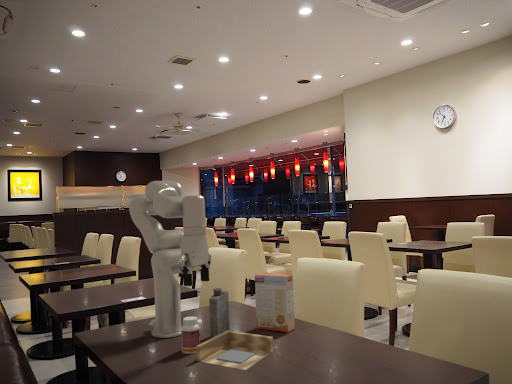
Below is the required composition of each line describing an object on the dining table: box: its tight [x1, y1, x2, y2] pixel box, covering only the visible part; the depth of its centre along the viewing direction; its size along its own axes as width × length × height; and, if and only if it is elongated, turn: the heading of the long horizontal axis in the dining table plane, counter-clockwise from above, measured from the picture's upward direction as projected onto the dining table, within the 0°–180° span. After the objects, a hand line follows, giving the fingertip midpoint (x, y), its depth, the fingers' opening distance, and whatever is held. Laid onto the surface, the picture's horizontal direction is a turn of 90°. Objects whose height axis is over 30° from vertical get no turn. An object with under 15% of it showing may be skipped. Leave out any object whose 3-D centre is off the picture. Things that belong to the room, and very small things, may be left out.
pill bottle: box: [180, 316, 201, 355], centre depth 139 cm, size 6×6×11 cm
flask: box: [208, 287, 230, 339], centre depth 151 cm, size 4×14×18 cm, turn 165°
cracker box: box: [254, 272, 296, 333], centre depth 162 cm, size 14×6×21 cm, turn 58°
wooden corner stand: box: [195, 330, 274, 371], centre depth 132 cm, size 18×18×5 cm
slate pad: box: [216, 349, 256, 364], centre depth 131 cm, size 9×9×1 cm
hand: (196, 283), depth 141 cm, fingers open, 9 cm apart
